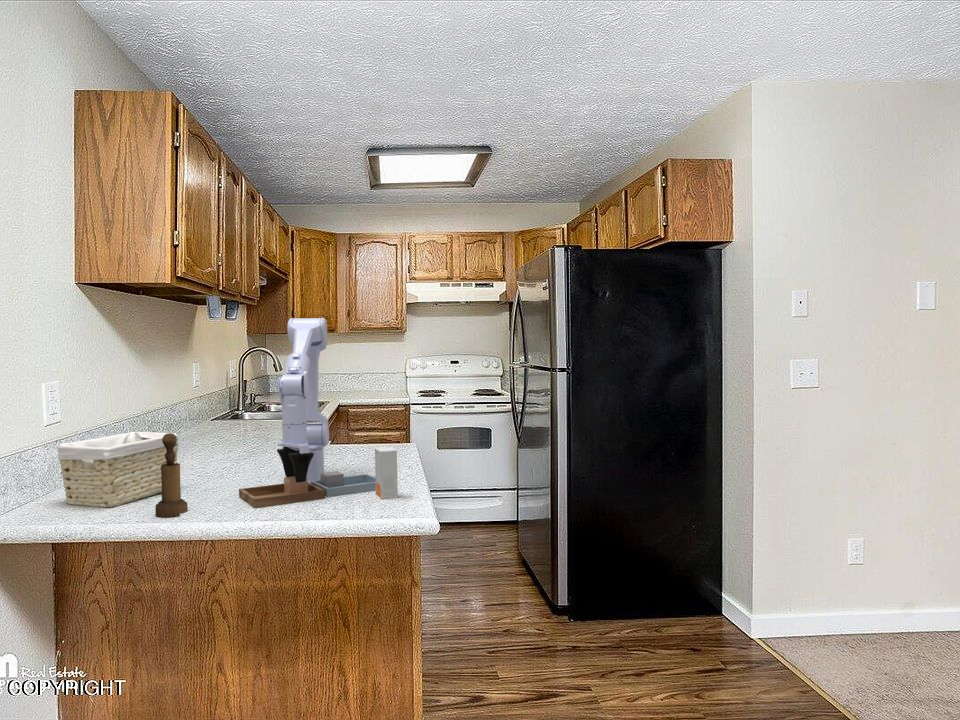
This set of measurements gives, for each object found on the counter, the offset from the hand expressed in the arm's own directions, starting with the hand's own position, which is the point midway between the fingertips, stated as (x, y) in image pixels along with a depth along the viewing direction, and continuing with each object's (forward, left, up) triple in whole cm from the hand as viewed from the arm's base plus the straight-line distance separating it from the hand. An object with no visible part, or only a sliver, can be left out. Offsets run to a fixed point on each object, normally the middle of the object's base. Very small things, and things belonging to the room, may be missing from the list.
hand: (295, 479), depth 176 cm
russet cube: (0, 0, -4) cm, 4 cm away
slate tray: (0, +14, -5) cm, 14 cm away
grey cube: (0, +9, -4) cm, 10 cm away
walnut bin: (0, -3, -5) cm, 6 cm away
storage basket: (-28, -35, -5) cm, 45 cm away
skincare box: (+13, +18, -5) cm, 23 cm away
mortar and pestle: (-1, -28, -5) cm, 28 cm away
